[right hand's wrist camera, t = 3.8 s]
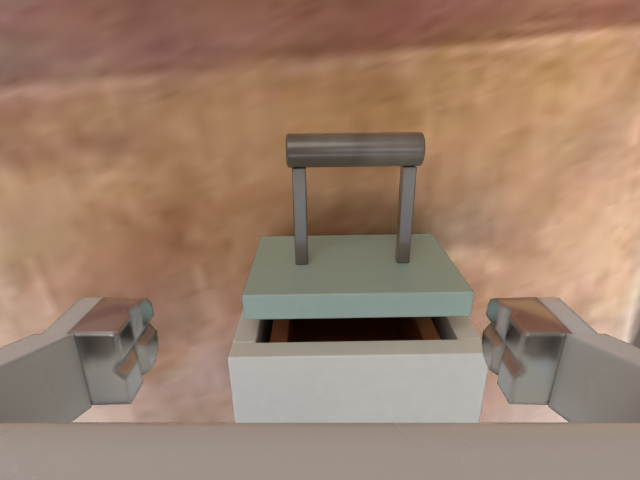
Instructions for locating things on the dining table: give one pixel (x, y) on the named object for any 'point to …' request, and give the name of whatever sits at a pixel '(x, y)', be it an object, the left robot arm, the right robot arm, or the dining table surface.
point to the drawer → (354, 258)
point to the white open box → (358, 377)
